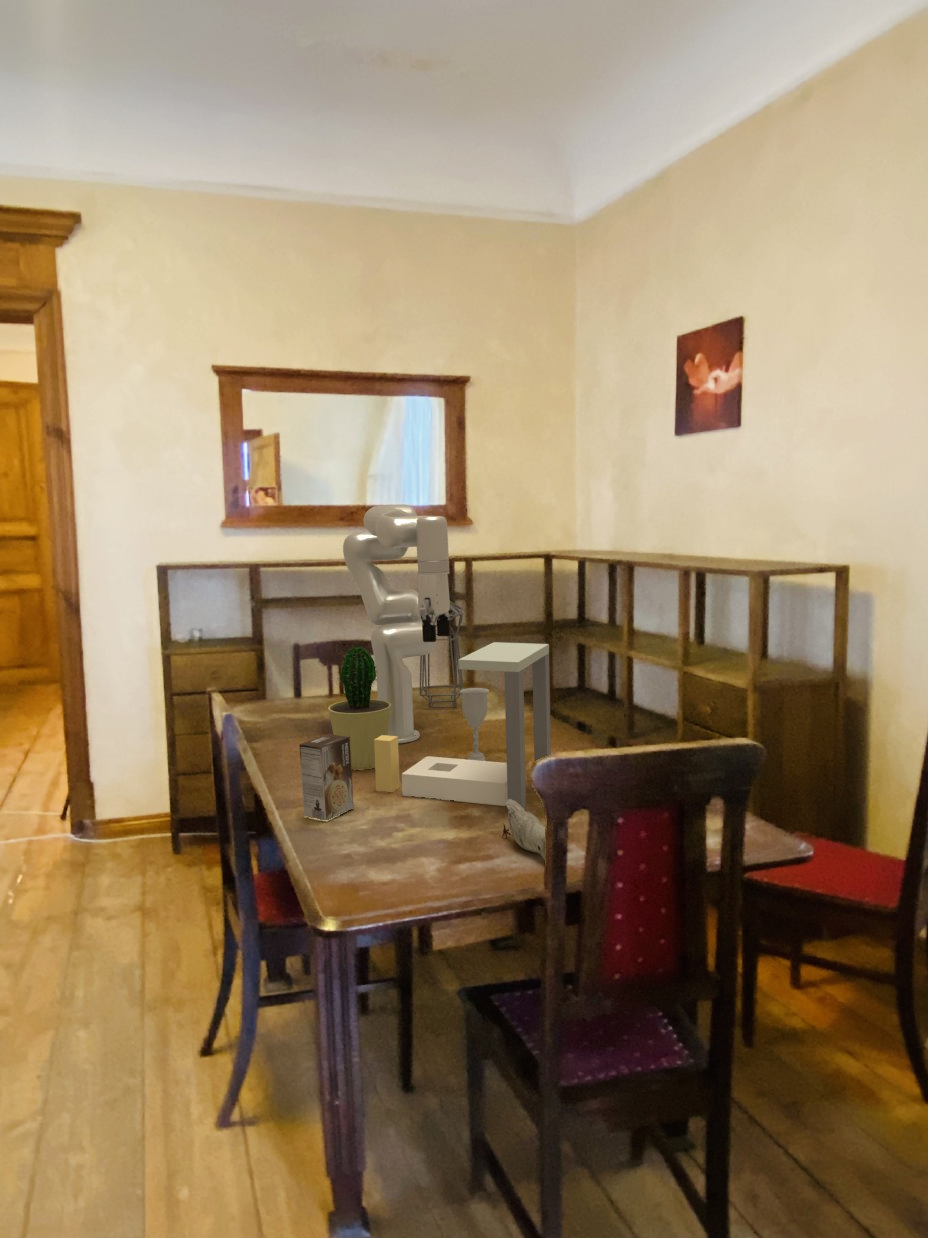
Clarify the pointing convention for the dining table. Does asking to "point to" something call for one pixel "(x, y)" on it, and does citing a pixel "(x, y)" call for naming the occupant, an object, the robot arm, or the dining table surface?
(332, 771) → the coffee box
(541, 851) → the decorative bird
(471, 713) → the chalice
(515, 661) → the c-shaped stand
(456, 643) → the geometric lantern
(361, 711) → the potted cactus
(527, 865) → the dining table surface
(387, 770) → the peg
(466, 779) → the socket block
